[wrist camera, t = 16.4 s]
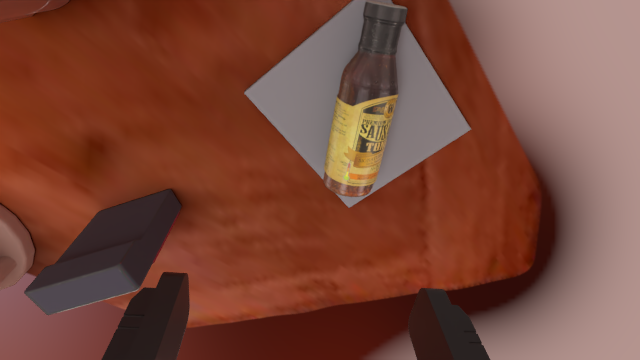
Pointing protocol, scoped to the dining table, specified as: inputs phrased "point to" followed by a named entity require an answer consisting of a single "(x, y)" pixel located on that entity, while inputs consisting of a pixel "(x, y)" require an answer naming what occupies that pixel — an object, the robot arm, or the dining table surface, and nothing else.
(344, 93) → the sauce bottle
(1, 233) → the hourglass
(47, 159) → the dining table surface
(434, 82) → the slate mat
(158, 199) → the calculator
